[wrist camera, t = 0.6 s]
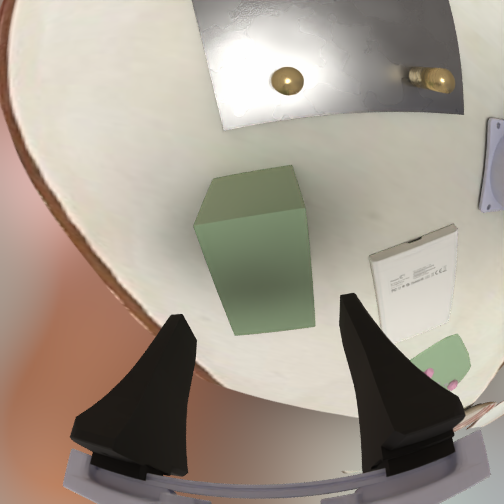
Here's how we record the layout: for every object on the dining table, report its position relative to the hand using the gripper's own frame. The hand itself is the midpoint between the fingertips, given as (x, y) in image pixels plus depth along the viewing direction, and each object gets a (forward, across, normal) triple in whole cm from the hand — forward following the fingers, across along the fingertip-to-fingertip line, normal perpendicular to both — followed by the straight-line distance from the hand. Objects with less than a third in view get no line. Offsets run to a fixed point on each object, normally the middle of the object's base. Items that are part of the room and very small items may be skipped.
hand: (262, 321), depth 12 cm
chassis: (+8, -7, -15) cm, 19 cm away
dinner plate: (+9, -50, +76) cm, 91 cm away
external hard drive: (+9, -13, +9) cm, 18 cm away
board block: (+8, 0, 0) cm, 8 cm away
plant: (+9, -21, +32) cm, 39 cm away
